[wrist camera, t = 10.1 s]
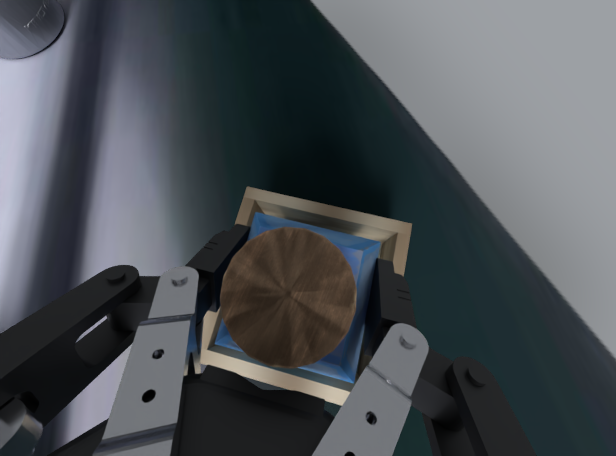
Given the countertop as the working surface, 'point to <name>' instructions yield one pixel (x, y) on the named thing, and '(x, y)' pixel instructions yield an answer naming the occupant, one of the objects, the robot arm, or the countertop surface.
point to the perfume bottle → (298, 297)
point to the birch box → (324, 216)
